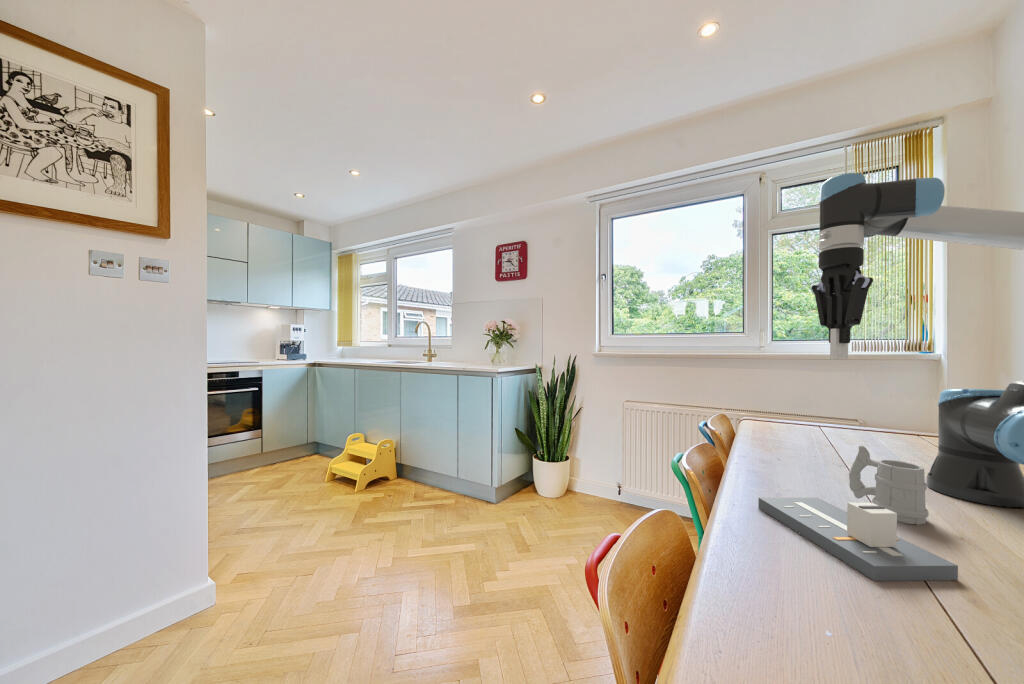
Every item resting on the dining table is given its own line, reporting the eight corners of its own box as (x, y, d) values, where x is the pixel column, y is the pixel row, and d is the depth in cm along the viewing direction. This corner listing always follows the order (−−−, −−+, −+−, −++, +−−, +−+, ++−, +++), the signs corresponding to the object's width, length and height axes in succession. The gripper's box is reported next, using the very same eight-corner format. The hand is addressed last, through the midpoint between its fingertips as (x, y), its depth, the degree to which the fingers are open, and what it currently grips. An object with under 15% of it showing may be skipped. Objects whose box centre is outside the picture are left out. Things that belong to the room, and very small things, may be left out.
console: (817, 507, 79) (817, 497, 79) (957, 580, 55) (958, 564, 55) (758, 507, 79) (758, 496, 79) (874, 580, 55) (874, 565, 55)
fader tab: (871, 534, 64) (871, 501, 64) (896, 546, 60) (897, 512, 60) (846, 534, 64) (847, 501, 63) (870, 547, 60) (871, 512, 60)
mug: (918, 529, 71) (920, 461, 71) (839, 504, 81) (840, 445, 81) (935, 520, 74) (937, 456, 74) (857, 498, 85) (858, 441, 85)
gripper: (800, 255, 93) (799, 357, 93) (851, 241, 80) (849, 360, 80) (831, 256, 93) (830, 357, 93) (887, 242, 80) (885, 360, 80)
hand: (838, 358), depth 86 cm, fingers closed
